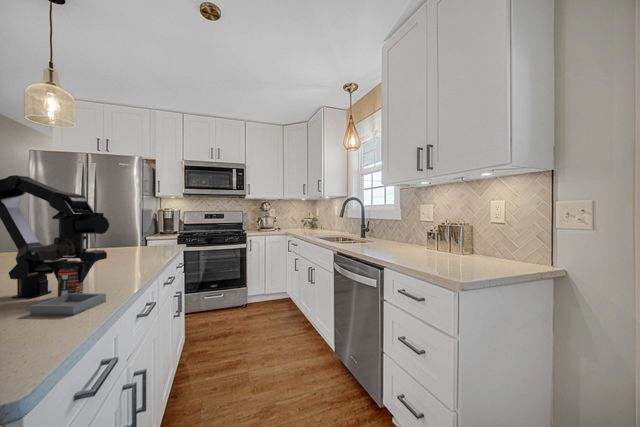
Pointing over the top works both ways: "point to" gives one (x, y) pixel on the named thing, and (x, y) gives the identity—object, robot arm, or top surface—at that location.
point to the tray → (68, 304)
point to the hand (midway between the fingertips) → (70, 282)
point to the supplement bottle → (69, 279)
